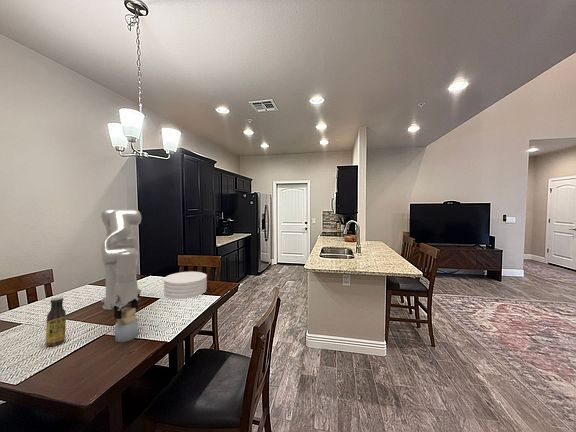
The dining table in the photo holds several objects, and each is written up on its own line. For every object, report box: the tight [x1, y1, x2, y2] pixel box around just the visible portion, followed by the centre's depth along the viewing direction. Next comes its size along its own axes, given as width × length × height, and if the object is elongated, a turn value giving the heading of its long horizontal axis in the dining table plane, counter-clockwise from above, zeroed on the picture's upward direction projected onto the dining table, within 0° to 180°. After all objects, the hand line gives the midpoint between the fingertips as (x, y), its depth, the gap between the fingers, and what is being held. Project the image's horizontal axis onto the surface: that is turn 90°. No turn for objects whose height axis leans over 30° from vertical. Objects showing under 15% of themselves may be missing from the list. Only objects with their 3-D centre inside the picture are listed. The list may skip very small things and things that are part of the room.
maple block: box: [117, 306, 137, 325], centre depth 114 cm, size 5×5×6 cm
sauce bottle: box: [45, 296, 67, 347], centre depth 108 cm, size 7×6×20 cm
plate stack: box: [163, 271, 208, 300], centre depth 174 cm, size 28×28×12 cm
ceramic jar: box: [114, 318, 139, 343], centre depth 114 cm, size 9×9×7 cm
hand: (126, 313), depth 114 cm, fingers open, 9 cm apart
